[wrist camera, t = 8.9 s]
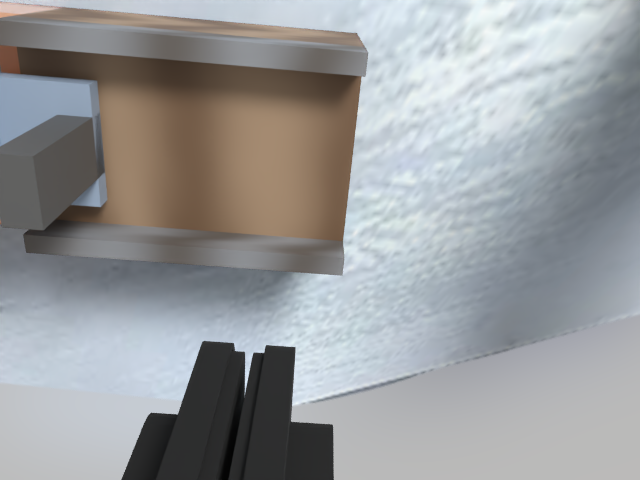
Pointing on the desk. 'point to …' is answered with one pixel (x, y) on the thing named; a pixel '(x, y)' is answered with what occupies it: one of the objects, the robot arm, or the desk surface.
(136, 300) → the desk surface
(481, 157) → the desk surface
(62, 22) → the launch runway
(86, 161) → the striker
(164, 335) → the desk surface
